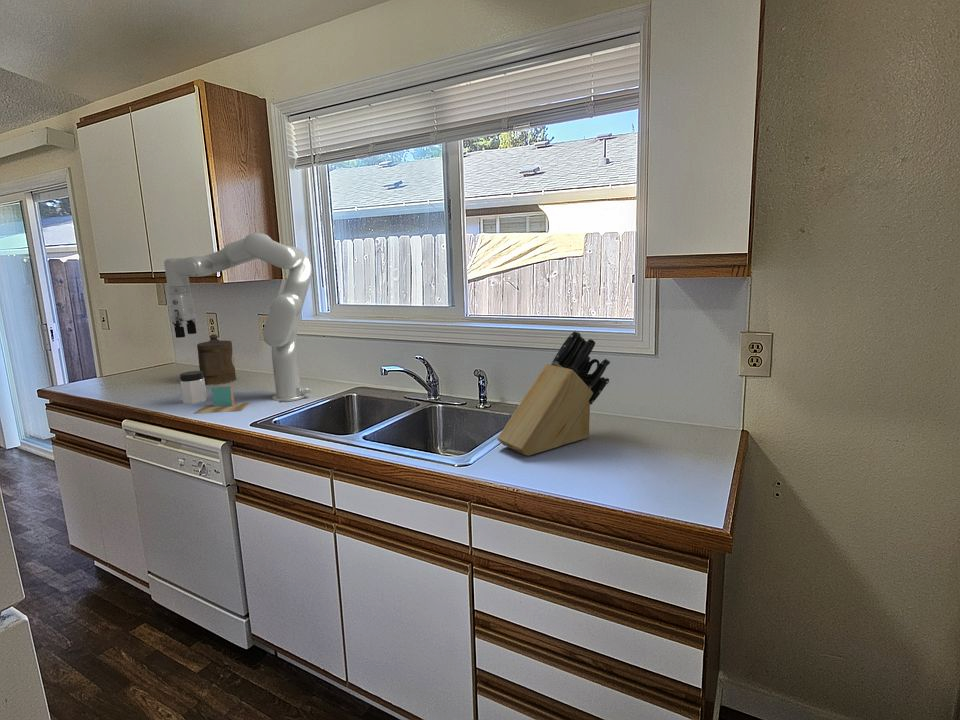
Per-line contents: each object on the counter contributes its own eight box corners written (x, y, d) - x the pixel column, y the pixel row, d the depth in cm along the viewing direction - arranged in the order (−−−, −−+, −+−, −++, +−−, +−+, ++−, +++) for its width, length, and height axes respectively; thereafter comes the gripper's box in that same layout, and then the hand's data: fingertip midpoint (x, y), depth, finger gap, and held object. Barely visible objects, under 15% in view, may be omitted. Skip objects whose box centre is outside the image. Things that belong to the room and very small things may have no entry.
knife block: (612, 432, 166) (613, 330, 160) (522, 460, 146) (519, 345, 140) (585, 423, 175) (585, 327, 169) (496, 449, 155) (493, 340, 149)
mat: (251, 403, 214) (251, 402, 214) (240, 412, 202) (240, 411, 202) (206, 406, 213) (206, 404, 213) (193, 415, 201) (192, 413, 201)
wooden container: (243, 378, 261) (237, 332, 257) (216, 385, 248) (210, 337, 244) (220, 376, 268) (215, 331, 263) (194, 383, 254) (187, 336, 250)
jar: (186, 400, 223) (182, 371, 221) (208, 398, 225) (204, 369, 223) (181, 406, 215) (177, 376, 212) (204, 403, 217) (200, 374, 215)
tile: (234, 404, 212) (232, 385, 211) (232, 405, 210) (230, 386, 209) (215, 405, 212) (213, 386, 210) (213, 406, 210) (211, 387, 208)
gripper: (179, 292, 202) (186, 338, 205) (199, 289, 219) (206, 331, 222) (158, 293, 201) (165, 339, 205) (180, 290, 218) (186, 333, 222)
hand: (186, 335), depth 213 cm, fingers open, 9 cm apart
